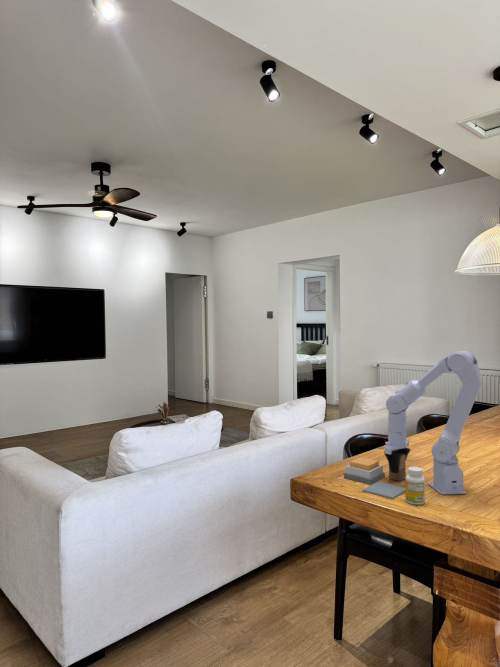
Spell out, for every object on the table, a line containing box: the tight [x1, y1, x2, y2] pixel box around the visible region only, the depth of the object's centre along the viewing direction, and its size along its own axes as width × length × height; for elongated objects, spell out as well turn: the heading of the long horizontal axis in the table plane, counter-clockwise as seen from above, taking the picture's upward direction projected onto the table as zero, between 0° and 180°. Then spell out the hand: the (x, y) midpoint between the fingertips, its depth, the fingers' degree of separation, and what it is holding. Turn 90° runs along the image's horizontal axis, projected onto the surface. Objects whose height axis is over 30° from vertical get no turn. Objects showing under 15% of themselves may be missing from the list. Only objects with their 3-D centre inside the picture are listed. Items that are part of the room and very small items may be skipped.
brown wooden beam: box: [388, 454, 407, 482], centre depth 157 cm, size 4×4×8 cm
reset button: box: [349, 456, 380, 471], centre depth 158 cm, size 7×7×2 cm
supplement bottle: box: [405, 466, 426, 506], centre depth 137 cm, size 5×5×10 cm
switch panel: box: [343, 463, 386, 486], centre depth 159 cm, size 10×10×4 cm
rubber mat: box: [362, 481, 406, 500], centre depth 146 cm, size 10×10×1 cm
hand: (397, 471), depth 157 cm, fingers closed on brown wooden beam, 4 cm apart
